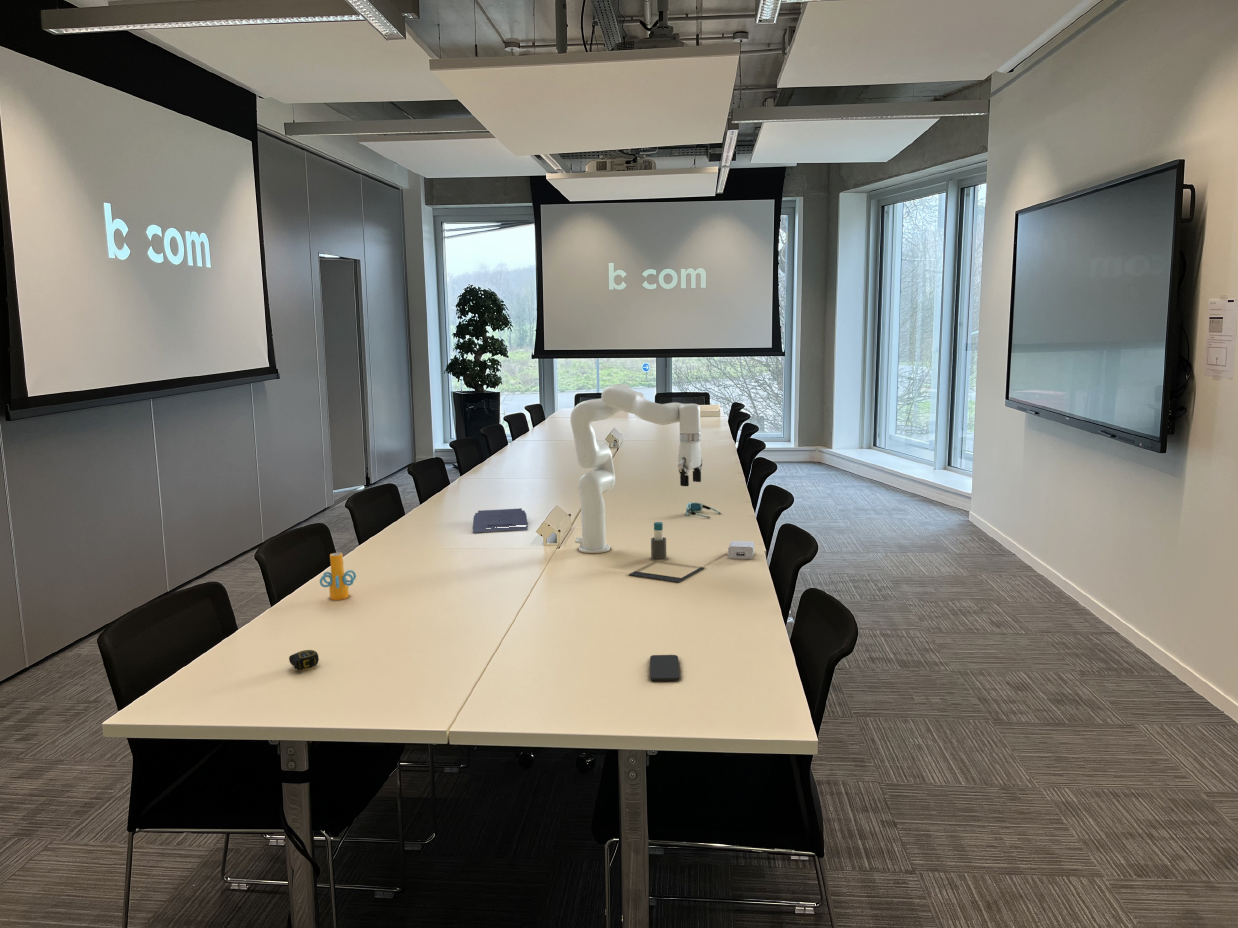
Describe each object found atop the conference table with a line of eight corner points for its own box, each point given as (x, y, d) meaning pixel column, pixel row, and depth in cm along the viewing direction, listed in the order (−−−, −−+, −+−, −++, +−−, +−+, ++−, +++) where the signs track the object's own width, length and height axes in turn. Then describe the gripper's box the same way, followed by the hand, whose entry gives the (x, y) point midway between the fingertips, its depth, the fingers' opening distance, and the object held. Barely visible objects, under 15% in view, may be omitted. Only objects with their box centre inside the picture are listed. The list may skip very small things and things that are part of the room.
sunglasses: (695, 509, 410) (696, 499, 408) (722, 517, 401) (723, 507, 400) (680, 515, 398) (681, 505, 397) (707, 522, 390) (708, 512, 389)
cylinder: (364, 594, 289) (361, 551, 287) (345, 603, 279) (341, 559, 277) (334, 591, 293) (331, 549, 291) (314, 600, 283) (310, 557, 281)
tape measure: (289, 666, 227) (287, 652, 226) (315, 660, 231) (314, 646, 230) (295, 674, 221) (294, 660, 221) (322, 667, 225) (321, 654, 224)
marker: (652, 558, 323) (652, 523, 321) (657, 556, 326) (656, 521, 324) (660, 559, 321) (659, 524, 319) (664, 557, 324) (664, 522, 322)
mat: (628, 575, 303) (628, 574, 303) (656, 561, 320) (656, 560, 320) (678, 582, 292) (678, 581, 292) (704, 568, 309) (704, 567, 309)
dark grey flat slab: (526, 513, 406) (525, 506, 405) (528, 535, 377) (527, 527, 376) (474, 516, 402) (474, 508, 401) (472, 538, 374) (472, 530, 373)
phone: (650, 678, 210) (649, 654, 225) (650, 681, 211) (650, 657, 225) (680, 677, 210) (677, 654, 225) (680, 681, 210) (678, 657, 225)
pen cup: (648, 560, 323) (648, 539, 321) (656, 556, 328) (655, 536, 326) (661, 561, 320) (661, 541, 318) (669, 558, 325) (668, 537, 323)
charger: (755, 549, 334) (752, 559, 320) (731, 548, 336) (728, 558, 322) (755, 537, 334) (752, 546, 319) (731, 536, 336) (728, 546, 321)
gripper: (692, 434, 319) (692, 479, 322) (669, 440, 305) (670, 487, 307) (710, 435, 315) (710, 480, 318) (688, 441, 301) (688, 488, 303)
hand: (690, 483), depth 313 cm, fingers open, 9 cm apart
